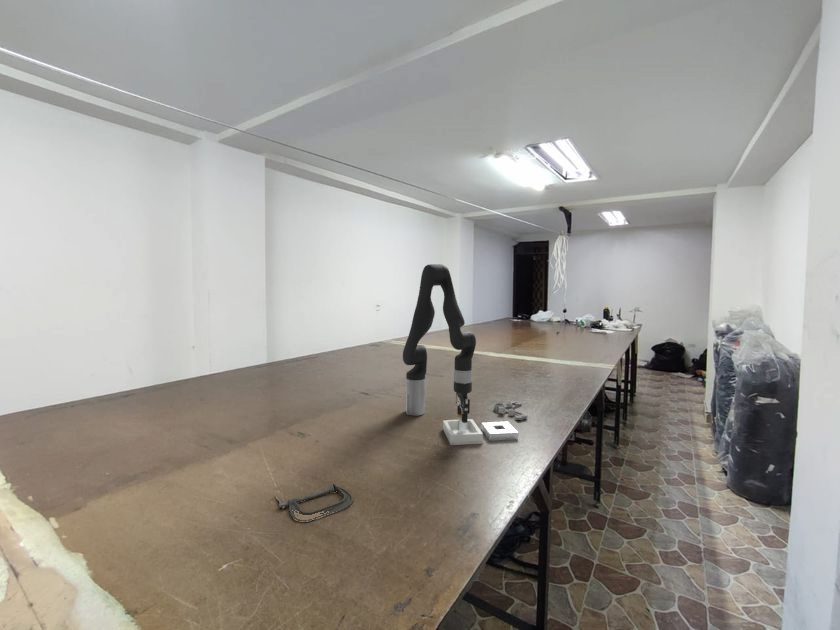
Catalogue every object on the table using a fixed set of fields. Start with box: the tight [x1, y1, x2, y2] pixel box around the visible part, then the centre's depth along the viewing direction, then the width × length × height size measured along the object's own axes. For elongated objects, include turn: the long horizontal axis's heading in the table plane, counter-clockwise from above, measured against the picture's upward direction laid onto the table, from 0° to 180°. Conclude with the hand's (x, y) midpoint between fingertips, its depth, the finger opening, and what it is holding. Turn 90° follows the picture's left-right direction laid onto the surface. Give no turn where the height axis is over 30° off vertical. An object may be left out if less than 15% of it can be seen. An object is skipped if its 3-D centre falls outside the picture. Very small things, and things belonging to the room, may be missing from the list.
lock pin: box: [457, 413, 467, 433], centre depth 157 cm, size 4×4×8 cm
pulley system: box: [493, 400, 528, 421], centre depth 188 cm, size 27×5×15 cm
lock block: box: [480, 421, 519, 442], centre depth 159 cm, size 12×12×3 cm
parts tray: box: [442, 418, 484, 446], centre depth 157 cm, size 13×16×4 cm
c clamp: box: [278, 483, 354, 521], centre depth 110 cm, size 20×17×3 cm
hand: (462, 418), depth 156 cm, fingers open, 7 cm apart
